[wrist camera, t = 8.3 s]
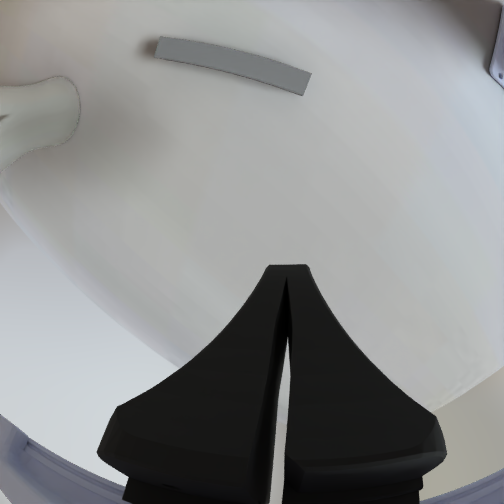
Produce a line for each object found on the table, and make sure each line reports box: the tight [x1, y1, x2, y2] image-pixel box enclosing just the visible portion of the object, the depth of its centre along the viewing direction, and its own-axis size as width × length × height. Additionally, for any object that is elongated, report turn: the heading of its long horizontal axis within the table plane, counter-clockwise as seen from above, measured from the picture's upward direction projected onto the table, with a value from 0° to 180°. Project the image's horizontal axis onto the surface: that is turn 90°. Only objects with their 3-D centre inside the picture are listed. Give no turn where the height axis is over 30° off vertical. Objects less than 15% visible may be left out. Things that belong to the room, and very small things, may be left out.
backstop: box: [154, 37, 312, 96], centre depth 14 cm, size 9×1×2 cm, turn 72°
